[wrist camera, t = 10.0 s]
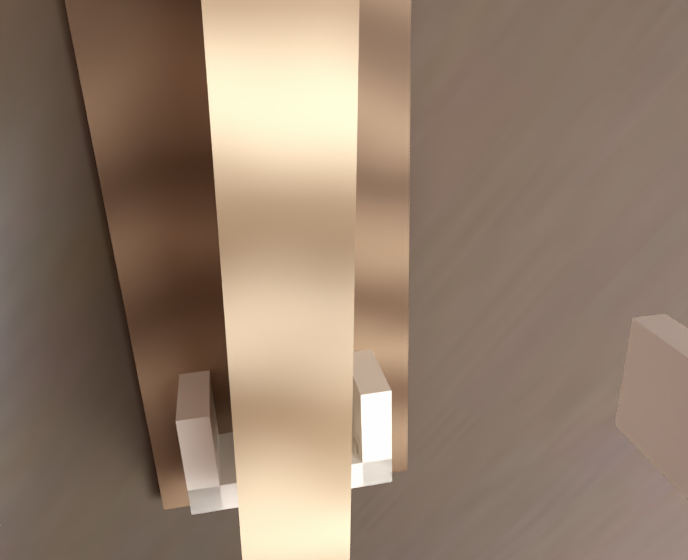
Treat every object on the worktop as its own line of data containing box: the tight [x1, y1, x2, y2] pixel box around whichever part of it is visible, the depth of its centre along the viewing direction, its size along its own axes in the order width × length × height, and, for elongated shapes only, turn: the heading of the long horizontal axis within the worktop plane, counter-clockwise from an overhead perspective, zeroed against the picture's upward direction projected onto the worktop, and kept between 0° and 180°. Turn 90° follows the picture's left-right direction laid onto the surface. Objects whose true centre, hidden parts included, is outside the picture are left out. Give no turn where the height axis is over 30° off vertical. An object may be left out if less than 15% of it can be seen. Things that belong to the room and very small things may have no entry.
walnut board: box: [64, 0, 411, 510], centre depth 29 cm, size 36×14×2 cm, turn 2°
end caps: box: [176, 349, 392, 515], centre depth 27 cm, size 30×10×4 cm, turn 2°
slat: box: [201, 0, 360, 560], centre depth 24 cm, size 24×4×11 cm, turn 0°
